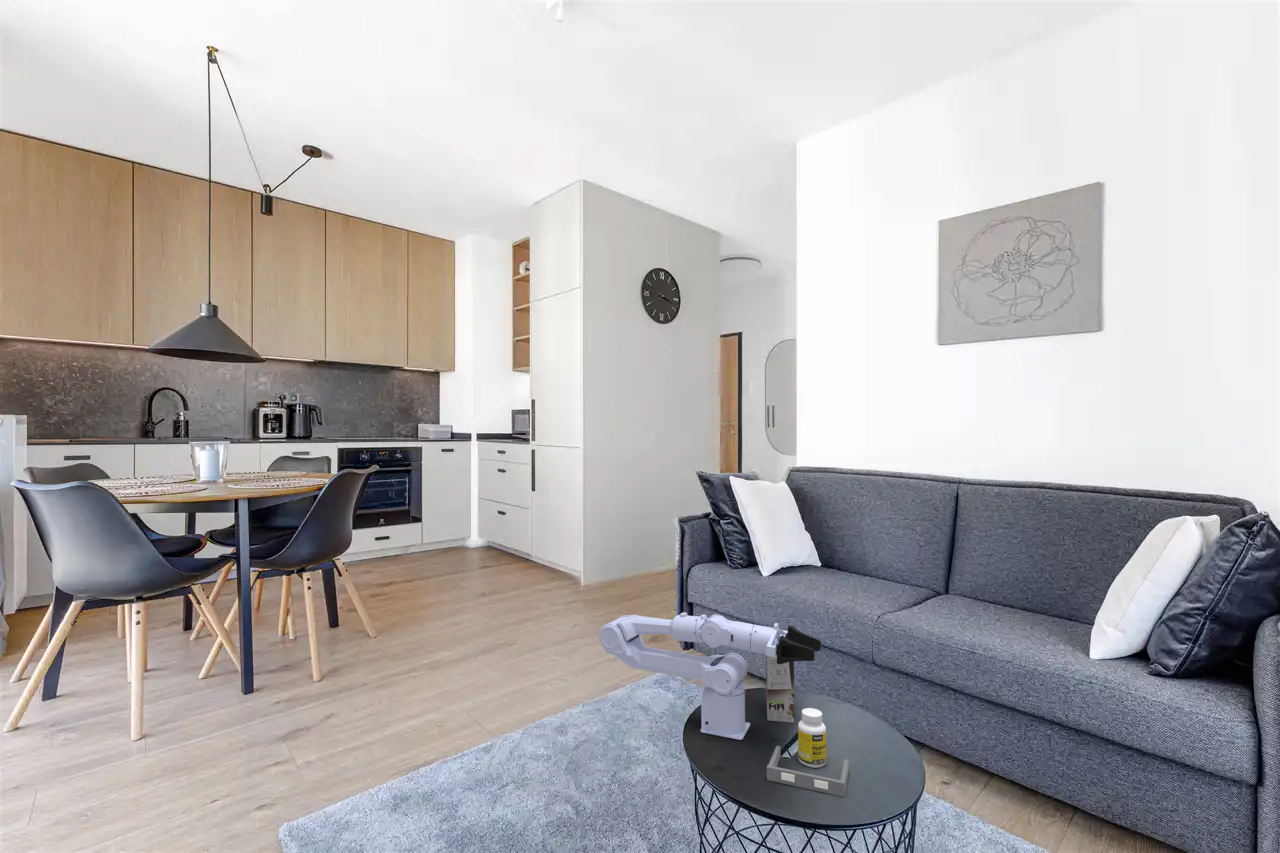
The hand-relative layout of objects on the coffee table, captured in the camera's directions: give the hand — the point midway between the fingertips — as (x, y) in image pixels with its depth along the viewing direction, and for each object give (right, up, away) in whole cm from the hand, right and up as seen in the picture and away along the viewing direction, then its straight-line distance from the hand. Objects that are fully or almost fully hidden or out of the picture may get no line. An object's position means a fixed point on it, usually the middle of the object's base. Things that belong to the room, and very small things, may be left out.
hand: (817, 650), depth 125 cm
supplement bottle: (-3, -20, -6) cm, 21 cm away
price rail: (-5, -20, -11) cm, 23 cm away
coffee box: (-4, -21, +16) cm, 27 cm away
